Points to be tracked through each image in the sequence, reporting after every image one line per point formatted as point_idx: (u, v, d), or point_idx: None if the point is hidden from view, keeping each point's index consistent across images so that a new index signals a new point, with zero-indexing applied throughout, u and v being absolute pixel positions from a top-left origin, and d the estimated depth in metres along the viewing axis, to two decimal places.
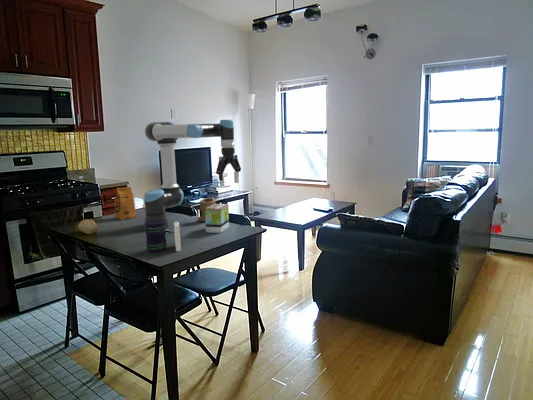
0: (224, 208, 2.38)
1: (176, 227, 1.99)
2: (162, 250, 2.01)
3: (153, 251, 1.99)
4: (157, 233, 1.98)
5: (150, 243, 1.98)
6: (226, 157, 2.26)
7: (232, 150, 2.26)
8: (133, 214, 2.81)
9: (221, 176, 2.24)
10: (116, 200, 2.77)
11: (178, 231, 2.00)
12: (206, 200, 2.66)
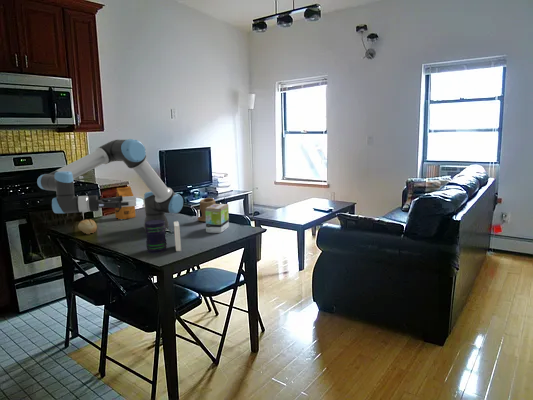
0: (224, 208, 2.38)
1: (176, 227, 1.99)
2: (162, 250, 2.01)
3: (153, 251, 1.99)
4: (157, 233, 1.98)
5: (150, 243, 1.98)
6: None
7: None
8: (133, 214, 2.81)
9: None
10: None
11: (178, 231, 2.00)
12: (206, 200, 2.66)
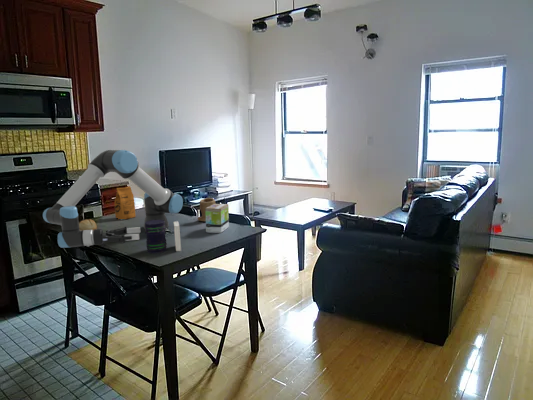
0: (224, 208, 2.38)
1: (176, 227, 1.99)
2: (162, 250, 2.01)
3: (153, 251, 1.99)
4: (157, 233, 1.98)
5: (150, 243, 1.98)
6: None
7: None
8: (133, 214, 2.81)
9: None
10: (116, 200, 2.77)
11: (178, 231, 2.00)
12: (206, 200, 2.66)
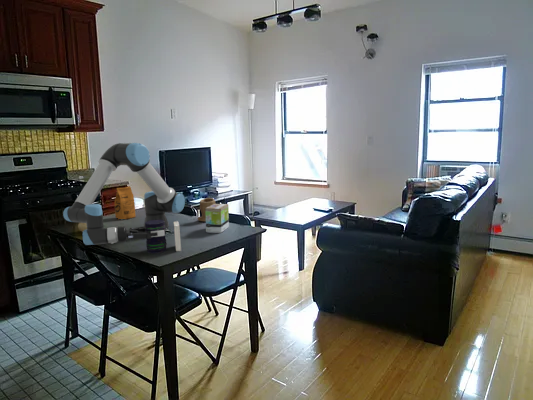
0: (224, 208, 2.38)
1: (176, 227, 1.99)
2: (162, 250, 2.01)
3: (153, 251, 1.99)
4: None
5: (150, 243, 1.98)
6: None
7: None
8: (133, 214, 2.81)
9: None
10: (116, 200, 2.77)
11: (178, 231, 2.00)
12: (206, 200, 2.66)
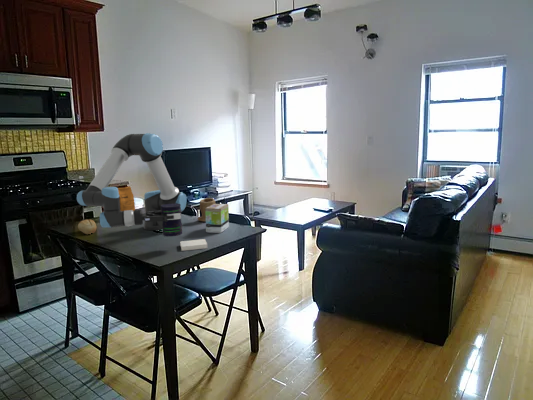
0: (224, 208, 2.38)
1: (205, 246, 2.05)
2: (178, 233, 2.01)
3: (169, 234, 1.99)
4: None
5: (166, 226, 1.99)
6: None
7: None
8: None
9: None
10: None
11: (201, 248, 2.05)
12: (206, 200, 2.66)
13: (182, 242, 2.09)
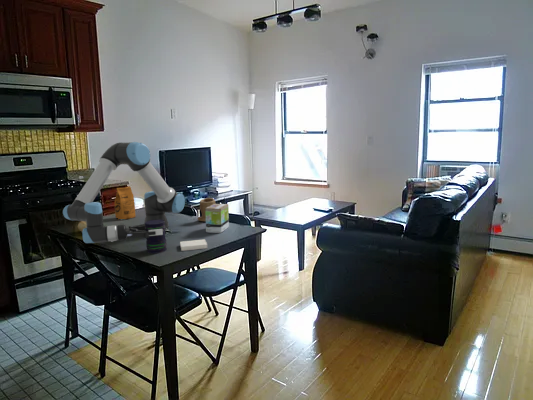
0: (224, 208, 2.38)
1: (205, 246, 2.05)
2: (162, 250, 2.01)
3: (153, 251, 1.99)
4: None
5: (150, 243, 1.99)
6: None
7: None
8: (133, 214, 2.81)
9: None
10: (116, 200, 2.77)
11: (201, 248, 2.04)
12: (206, 200, 2.66)
13: (182, 242, 2.09)
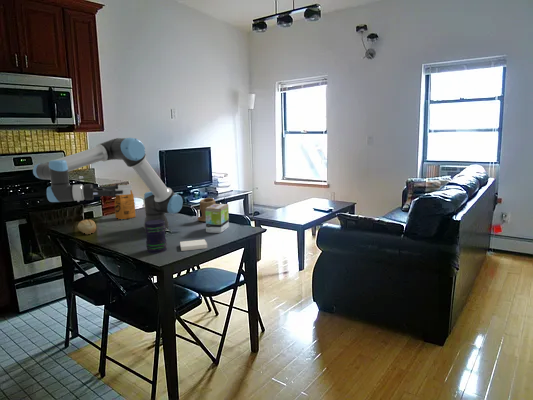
0: (224, 208, 2.38)
1: (205, 246, 2.05)
2: (162, 250, 2.01)
3: (153, 251, 1.99)
4: (157, 233, 1.98)
5: (150, 243, 1.99)
6: None
7: None
8: (133, 214, 2.81)
9: None
10: (116, 200, 2.77)
11: (201, 248, 2.04)
12: (206, 200, 2.66)
13: (182, 242, 2.09)
